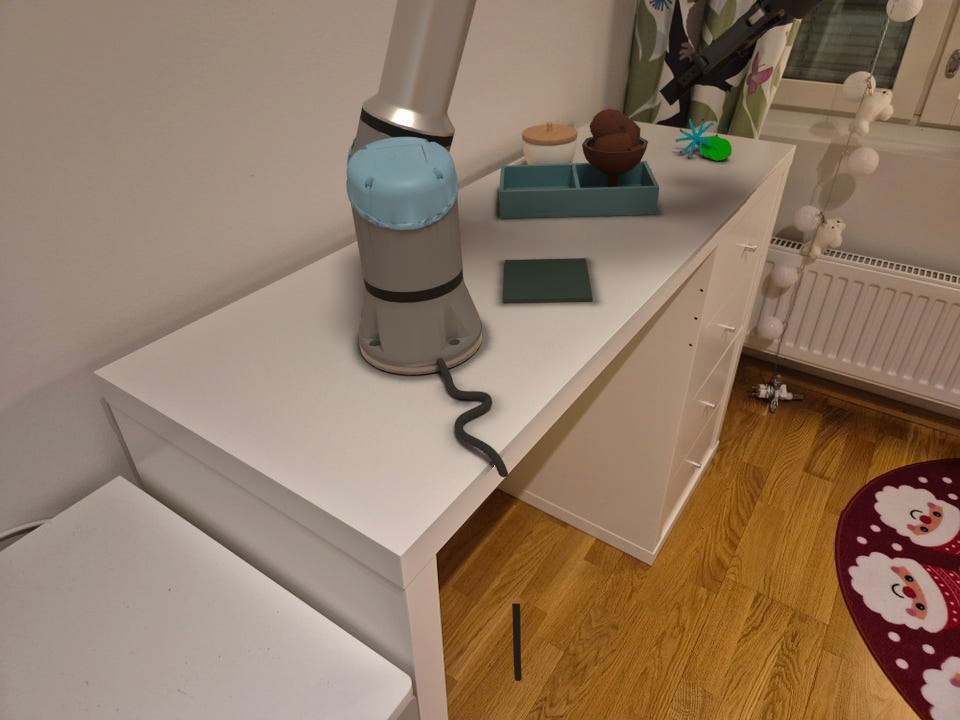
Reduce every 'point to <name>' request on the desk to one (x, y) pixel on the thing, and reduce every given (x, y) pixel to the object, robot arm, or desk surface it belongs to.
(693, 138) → the stick construction toy
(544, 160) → the trinket box
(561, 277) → the mat
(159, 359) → the desk surface
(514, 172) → the divided tray
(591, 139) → the ice cream bowl
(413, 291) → the robot arm
